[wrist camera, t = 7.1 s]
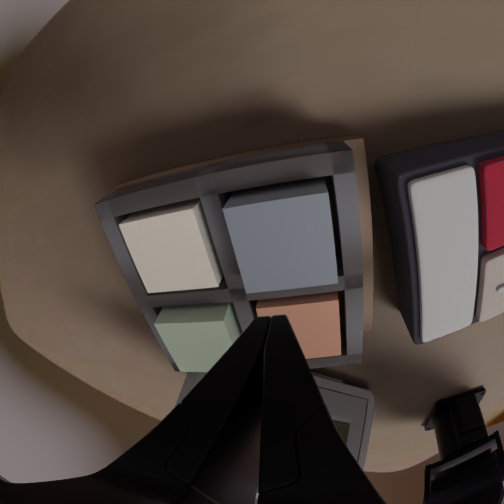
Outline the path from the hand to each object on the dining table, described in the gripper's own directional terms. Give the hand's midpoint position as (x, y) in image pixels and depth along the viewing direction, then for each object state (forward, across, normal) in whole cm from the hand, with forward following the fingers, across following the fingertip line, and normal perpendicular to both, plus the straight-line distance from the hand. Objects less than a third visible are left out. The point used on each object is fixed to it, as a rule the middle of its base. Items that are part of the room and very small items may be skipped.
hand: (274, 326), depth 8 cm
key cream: (+7, +5, 0) cm, 9 cm away
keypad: (+9, +3, +3) cm, 10 cm away
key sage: (+7, +5, +5) cm, 10 cm away
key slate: (+7, 0, 0) cm, 7 cm away
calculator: (+10, -13, +2) cm, 17 cm away
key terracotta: (+7, 0, +5) cm, 9 cm away
